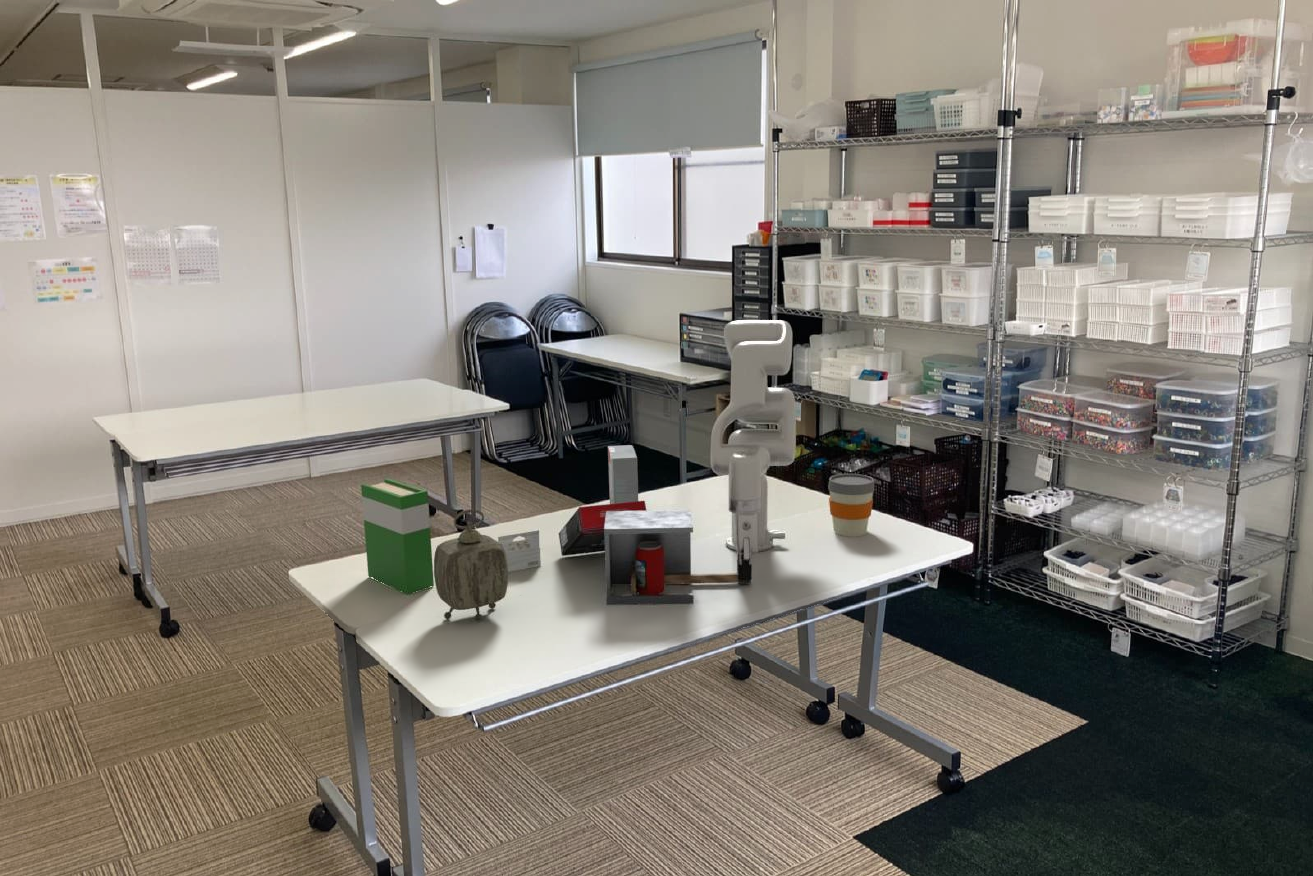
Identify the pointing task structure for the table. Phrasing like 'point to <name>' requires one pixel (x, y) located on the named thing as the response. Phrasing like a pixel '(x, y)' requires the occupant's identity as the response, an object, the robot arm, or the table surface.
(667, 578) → the pull rod
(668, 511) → the shelf lane
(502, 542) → the ink box
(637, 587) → the beverage can
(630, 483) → the hard drive box
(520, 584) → the table surface
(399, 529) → the hardback book
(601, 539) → the graphics card box
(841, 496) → the reusable coffee cup
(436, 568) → the tabletop clock
